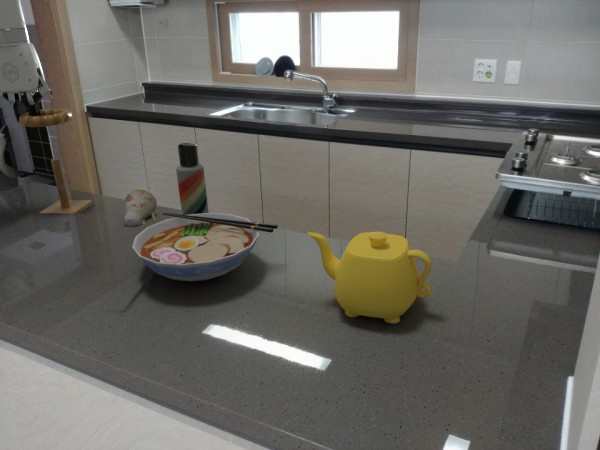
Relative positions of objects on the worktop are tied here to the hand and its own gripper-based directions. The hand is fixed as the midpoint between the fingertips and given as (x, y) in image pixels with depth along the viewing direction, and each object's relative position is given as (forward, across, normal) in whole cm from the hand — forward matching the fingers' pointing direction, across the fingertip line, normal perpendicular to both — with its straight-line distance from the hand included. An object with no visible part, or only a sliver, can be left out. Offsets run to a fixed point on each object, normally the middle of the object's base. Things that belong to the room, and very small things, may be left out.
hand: (29, 120), depth 125 cm
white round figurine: (+23, +26, -7) cm, 35 cm away
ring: (-1, +4, 0) cm, 4 cm away
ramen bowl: (+23, +47, -30) cm, 60 cm away
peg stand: (+23, +4, 0) cm, 23 cm away
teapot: (+23, +78, -40) cm, 91 cm away
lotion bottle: (+23, +41, -12) cm, 48 cm away
